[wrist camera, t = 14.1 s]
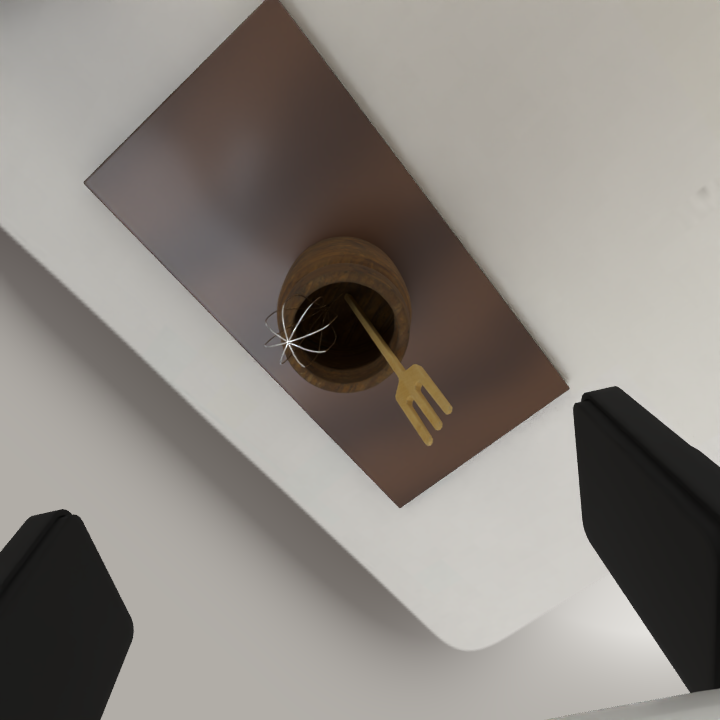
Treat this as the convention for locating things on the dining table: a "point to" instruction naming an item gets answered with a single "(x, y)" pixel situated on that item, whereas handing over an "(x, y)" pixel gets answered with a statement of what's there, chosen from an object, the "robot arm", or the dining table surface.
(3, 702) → the robot arm
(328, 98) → the mat
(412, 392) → the utensil holder
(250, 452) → the dining table surface
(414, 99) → the dining table surface
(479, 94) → the dining table surface
